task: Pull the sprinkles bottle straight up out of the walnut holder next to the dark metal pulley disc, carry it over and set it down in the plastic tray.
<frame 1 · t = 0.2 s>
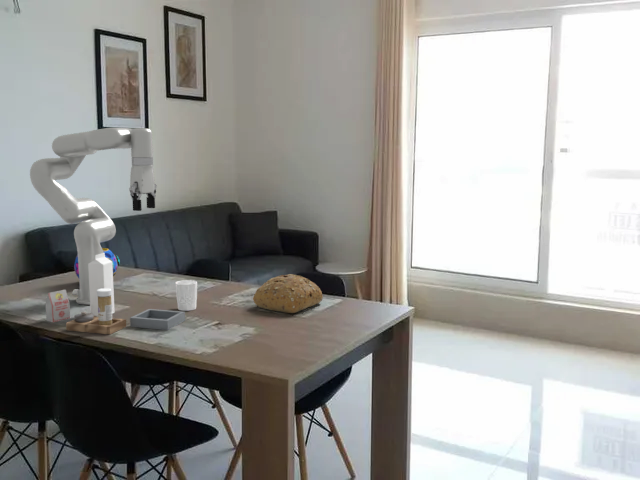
hand: (144, 209, 241), 36 cm above the table, tool pointing down, fingers open, 9 cm apart
tray: (158, 323, 223), on the table
white cup: (187, 309, 243), on the table
sprinkles bottle: (106, 329, 216), resting in holder
bread: (289, 306, 248), on the table
white food bag: (58, 319, 228), on the table
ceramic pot: (97, 284, 284), on the table
holder: (105, 329, 216), on the table
milk: (102, 314, 235), on the table
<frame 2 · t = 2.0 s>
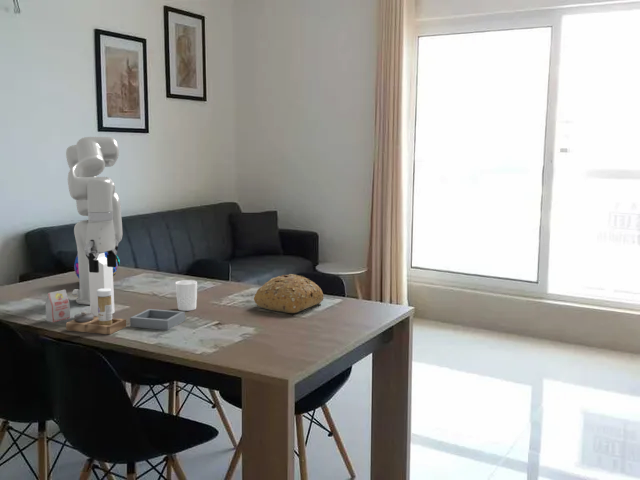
hand: (103, 269, 213), 20 cm above the table, tool pointing down, fingers open, 9 cm apart
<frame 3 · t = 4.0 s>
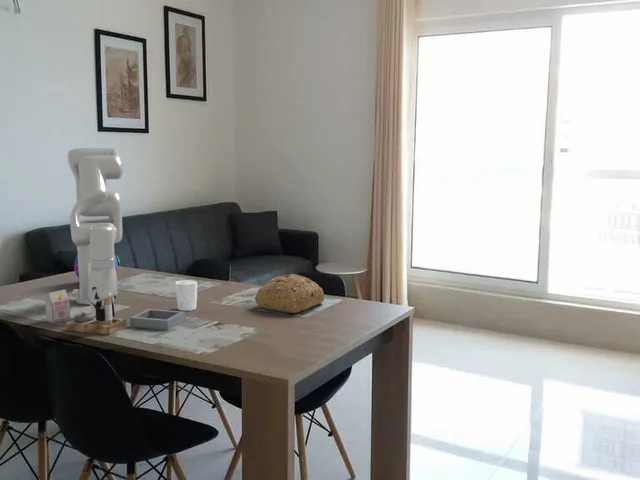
hand: (105, 317, 216), 4 cm above the table, tool pointing down, fingers closed on sprinkles bottle, 4 cm apart
sprinkles bottle: (106, 329, 216), resting in holder, touching gripper
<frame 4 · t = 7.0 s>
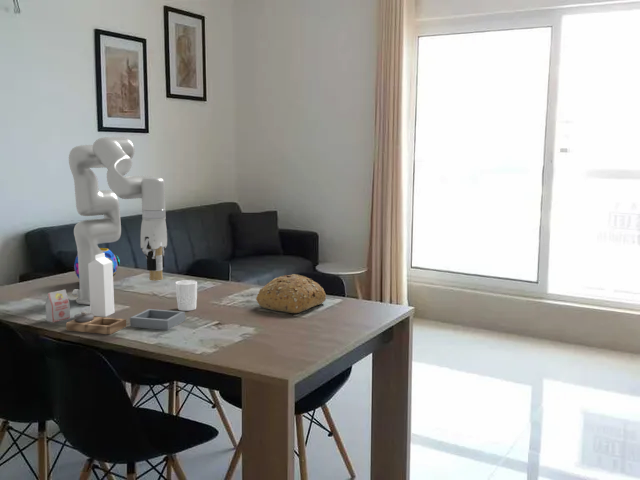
hand: (155, 268, 220), 19 cm above the table, tool pointing down, fingers closed on sprinkles bottle, 4 cm apart
sprinkles bottle: (156, 280, 221), point 15 cm above the table, touching gripper
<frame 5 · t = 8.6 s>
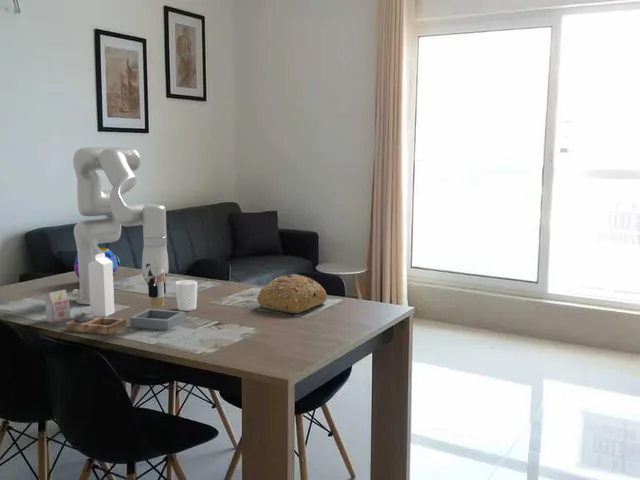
hand: (157, 294, 222), 10 cm above the table, tool pointing down, fingers closed on sprinkles bottle, 4 cm apart
sprinkles bottle: (157, 306, 222), point 6 cm above the table, touching gripper
when the fingers open (5 cm above the table, at t = 9.8 s): sprinkles bottle stays where it is, resting on tray.
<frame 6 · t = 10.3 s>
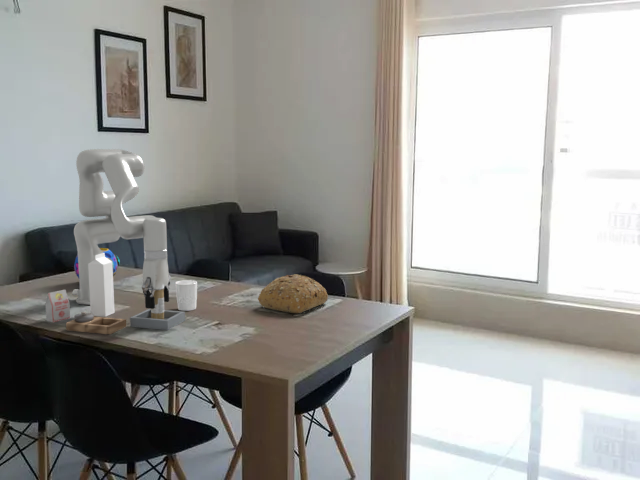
hand: (157, 304, 222), 7 cm above the table, tool pointing down, fingers open, 9 cm apart
sprinkles bottle: (157, 322, 223), resting on tray
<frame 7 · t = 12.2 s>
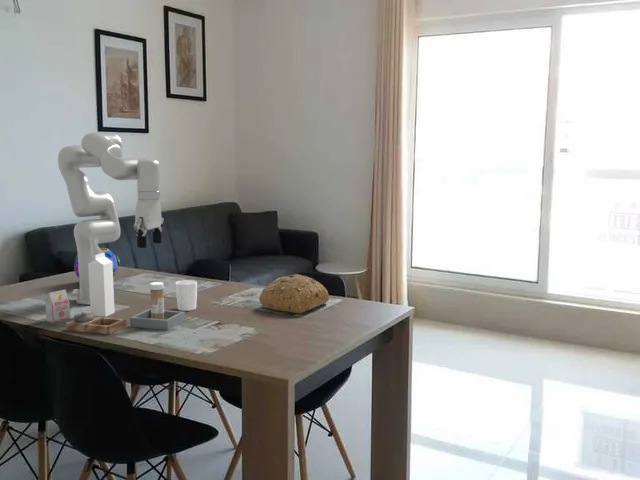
hand: (149, 245, 227), 26 cm above the table, tool pointing down, fingers open, 9 cm apart
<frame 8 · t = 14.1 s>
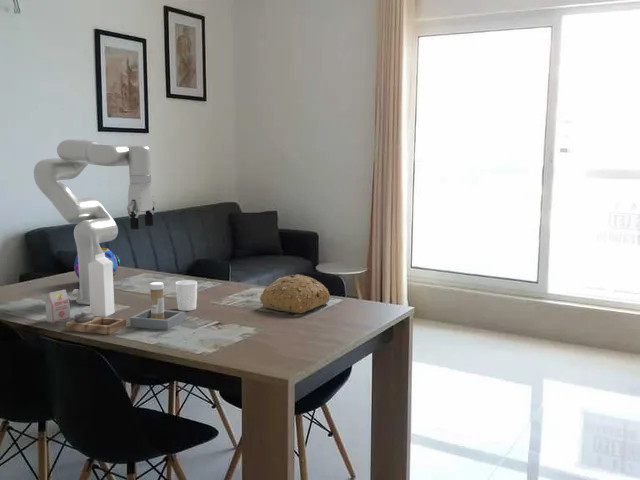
hand: (142, 227, 239), 30 cm above the table, tool pointing down, fingers open, 9 cm apart
at the end: sprinkles bottle inside the target area on the tray (0.1 cm from its centre), point 0.4 cm above the tray's base; the gripper is holding nothing; sprinkles bottle touching tray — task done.
